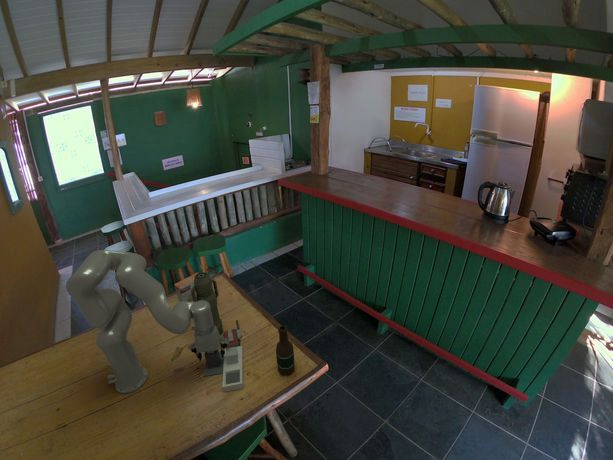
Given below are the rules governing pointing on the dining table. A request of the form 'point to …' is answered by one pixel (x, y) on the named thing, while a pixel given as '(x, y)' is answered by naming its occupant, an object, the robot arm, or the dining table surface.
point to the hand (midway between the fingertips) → (211, 356)
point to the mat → (214, 370)
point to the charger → (212, 359)
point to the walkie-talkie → (233, 336)
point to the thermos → (207, 295)
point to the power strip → (233, 369)
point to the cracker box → (185, 289)
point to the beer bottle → (284, 353)
